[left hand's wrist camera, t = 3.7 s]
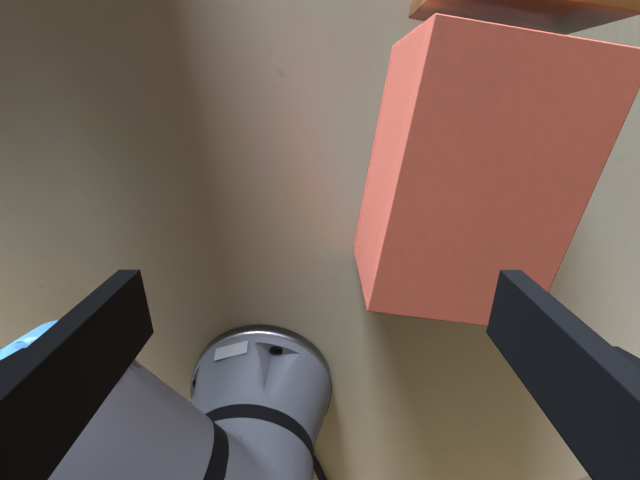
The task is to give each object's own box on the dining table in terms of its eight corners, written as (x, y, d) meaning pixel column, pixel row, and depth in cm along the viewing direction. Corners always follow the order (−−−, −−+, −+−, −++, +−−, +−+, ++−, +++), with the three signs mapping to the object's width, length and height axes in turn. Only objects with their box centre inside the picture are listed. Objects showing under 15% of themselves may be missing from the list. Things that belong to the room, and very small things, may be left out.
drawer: (434, -108, 23) (497, -224, 14) (583, -80, 23) (724, -176, 15) (369, 209, 31) (386, 248, 23) (480, 225, 31) (537, 268, 23)
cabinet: (392, 45, 27) (435, 12, 17) (534, 68, 27) (657, 50, 17) (352, 248, 33) (367, 311, 23) (468, 263, 34) (530, 331, 24)
